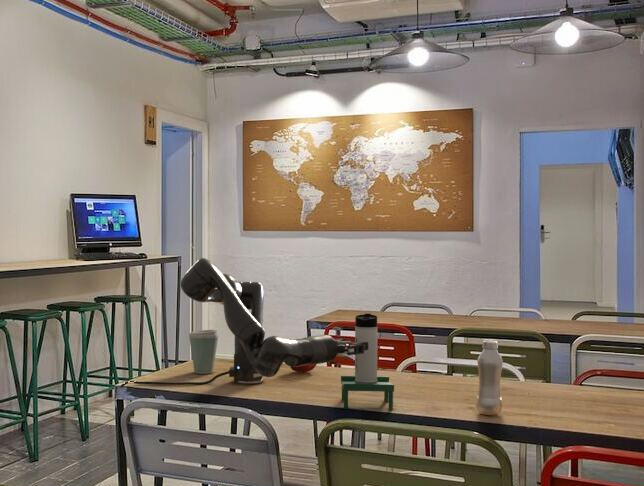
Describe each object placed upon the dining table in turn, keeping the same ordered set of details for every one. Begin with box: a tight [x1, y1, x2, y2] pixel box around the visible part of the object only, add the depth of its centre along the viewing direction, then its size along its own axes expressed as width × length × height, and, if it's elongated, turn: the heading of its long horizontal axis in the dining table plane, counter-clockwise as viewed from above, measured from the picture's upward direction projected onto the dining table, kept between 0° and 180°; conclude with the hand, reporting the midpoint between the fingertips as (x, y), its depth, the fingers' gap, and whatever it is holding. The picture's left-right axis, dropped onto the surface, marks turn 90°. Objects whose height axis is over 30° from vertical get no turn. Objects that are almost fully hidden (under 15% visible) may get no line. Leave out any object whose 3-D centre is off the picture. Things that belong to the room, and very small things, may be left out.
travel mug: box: [354, 312, 378, 384], centre depth 212 cm, size 6×7×20 cm
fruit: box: [289, 364, 318, 374], centre depth 262 cm, size 11×10×10 cm
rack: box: [340, 375, 395, 411], centre depth 213 cm, size 14×12×7 cm
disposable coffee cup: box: [188, 329, 219, 375], centre depth 263 cm, size 11×11×15 cm
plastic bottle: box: [475, 339, 504, 416], centre depth 201 cm, size 6×7×20 cm
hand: (355, 344), depth 209 cm, fingers open, 8 cm apart
